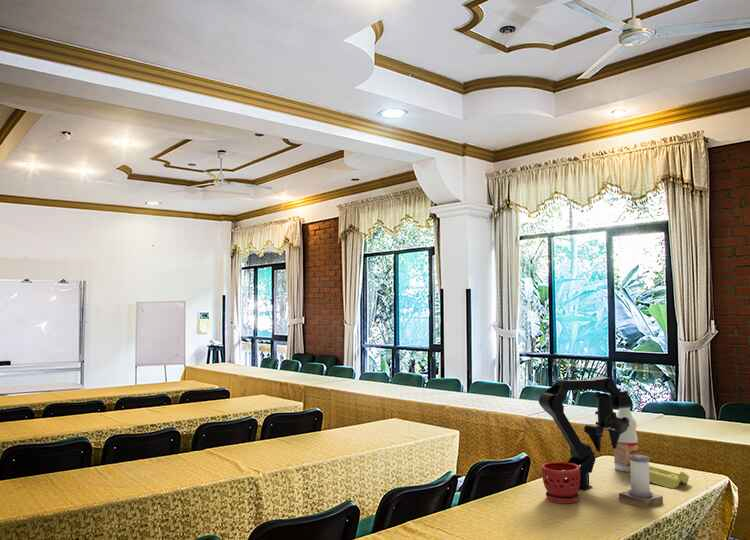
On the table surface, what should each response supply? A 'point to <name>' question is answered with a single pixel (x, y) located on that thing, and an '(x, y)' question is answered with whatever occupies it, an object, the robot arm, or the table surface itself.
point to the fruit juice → (626, 442)
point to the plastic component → (666, 477)
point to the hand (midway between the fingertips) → (606, 450)
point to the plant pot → (561, 481)
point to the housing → (639, 476)
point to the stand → (641, 500)
